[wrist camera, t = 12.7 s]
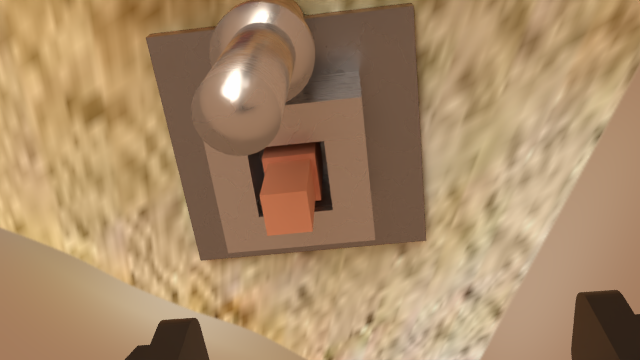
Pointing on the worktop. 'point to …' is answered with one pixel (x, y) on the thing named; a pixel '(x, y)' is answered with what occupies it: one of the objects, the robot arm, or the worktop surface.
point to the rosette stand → (295, 122)
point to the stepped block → (291, 187)
